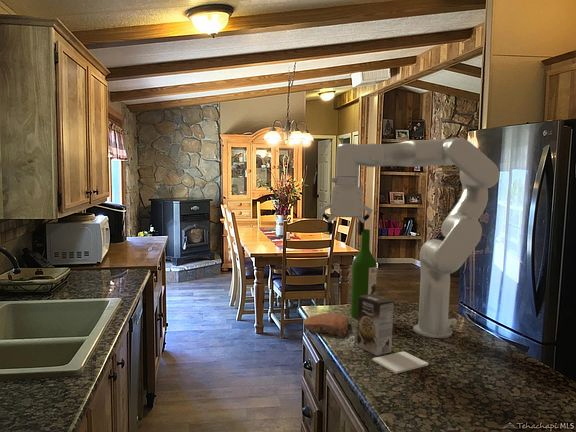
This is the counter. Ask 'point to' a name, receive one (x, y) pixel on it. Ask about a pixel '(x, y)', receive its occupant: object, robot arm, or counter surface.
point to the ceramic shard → (327, 323)
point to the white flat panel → (400, 362)
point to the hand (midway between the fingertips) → (345, 234)
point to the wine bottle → (363, 273)
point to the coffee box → (375, 324)
